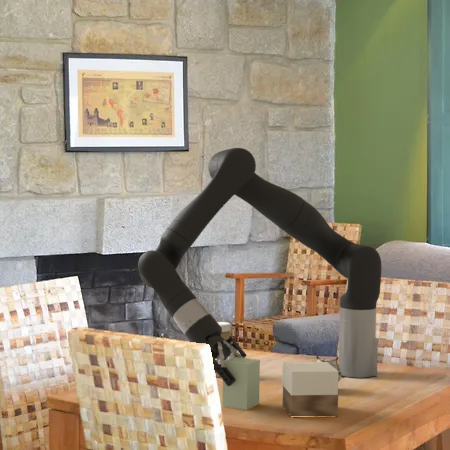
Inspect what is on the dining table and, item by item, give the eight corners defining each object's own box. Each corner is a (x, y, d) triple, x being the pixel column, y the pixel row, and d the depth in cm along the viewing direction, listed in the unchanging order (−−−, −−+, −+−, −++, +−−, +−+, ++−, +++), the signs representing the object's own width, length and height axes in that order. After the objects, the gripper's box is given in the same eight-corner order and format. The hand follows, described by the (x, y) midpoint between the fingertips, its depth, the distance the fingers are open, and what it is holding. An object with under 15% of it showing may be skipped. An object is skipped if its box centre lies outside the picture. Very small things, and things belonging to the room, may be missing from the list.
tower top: (326, 384, 213) (327, 361, 213) (337, 394, 203) (338, 371, 203) (282, 384, 212) (282, 362, 211) (291, 395, 202) (291, 371, 202)
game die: (331, 404, 229) (356, 371, 230) (324, 399, 221) (350, 364, 222) (302, 382, 233) (327, 349, 233) (294, 376, 225) (319, 342, 226)
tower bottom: (326, 406, 213) (327, 384, 213) (337, 418, 203) (338, 395, 203) (282, 407, 212) (283, 384, 212) (291, 419, 202) (291, 395, 202)
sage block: (222, 406, 211) (223, 361, 210) (235, 400, 216) (235, 356, 215) (246, 410, 208) (247, 364, 207) (259, 404, 213) (259, 359, 213)
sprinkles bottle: (222, 373, 245) (222, 320, 244) (233, 376, 241) (234, 323, 241) (207, 375, 242) (208, 322, 241) (219, 378, 238) (220, 324, 238)
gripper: (191, 317, 209) (237, 375, 204) (222, 309, 221) (266, 363, 217) (170, 339, 212) (215, 397, 207) (202, 329, 224) (245, 384, 219)
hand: (241, 380), depth 212 cm, fingers open, 8 cm apart
